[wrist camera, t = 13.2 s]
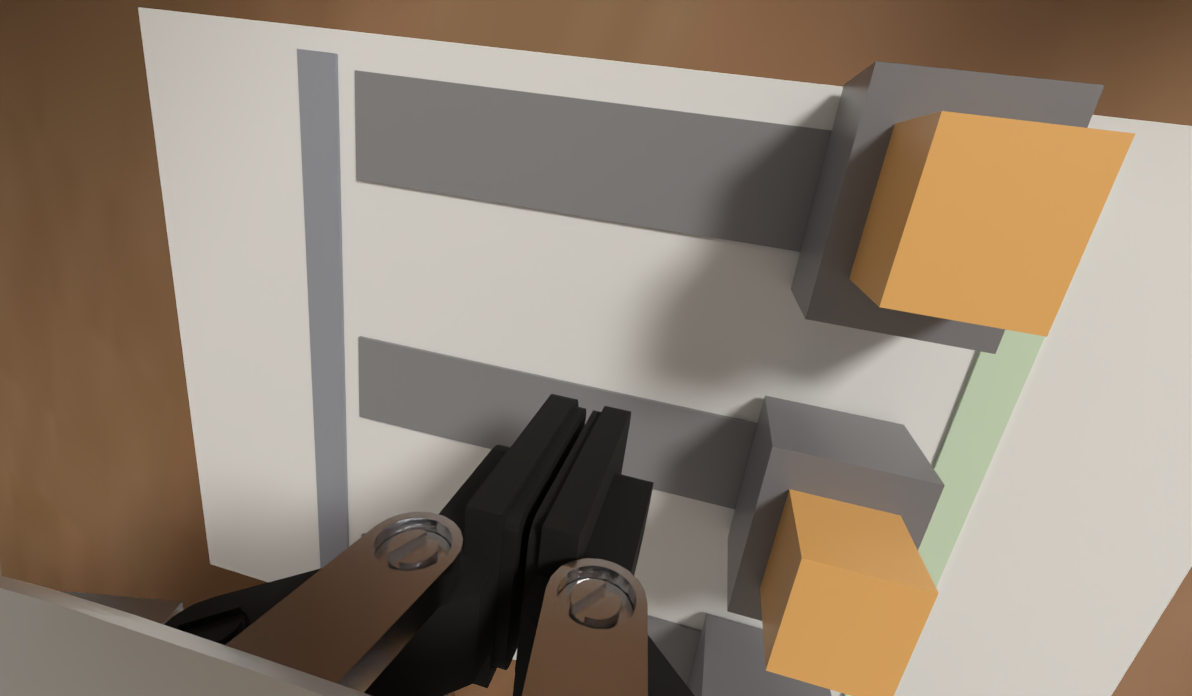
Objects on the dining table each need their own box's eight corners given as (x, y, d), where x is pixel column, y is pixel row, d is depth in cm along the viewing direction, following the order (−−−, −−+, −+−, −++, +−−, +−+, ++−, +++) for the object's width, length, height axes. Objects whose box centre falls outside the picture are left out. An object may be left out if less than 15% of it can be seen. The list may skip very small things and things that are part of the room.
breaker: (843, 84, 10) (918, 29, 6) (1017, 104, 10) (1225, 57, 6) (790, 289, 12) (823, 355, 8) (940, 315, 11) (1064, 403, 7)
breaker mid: (764, 395, 13) (781, 507, 8) (903, 424, 12) (994, 558, 8) (727, 538, 14) (726, 694, 10) (850, 569, 13) (905, 749, 9)
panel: (209, 26, 15) (133, 6, 13) (1325, 157, 11) (1454, 154, 9) (256, 529, 21) (207, 565, 19) (998, 749, 17) (1033, 826, 15)
